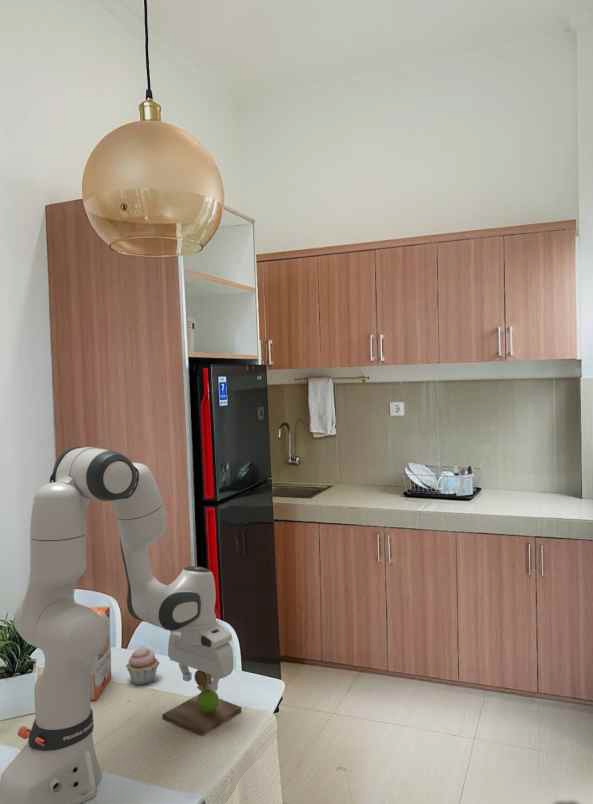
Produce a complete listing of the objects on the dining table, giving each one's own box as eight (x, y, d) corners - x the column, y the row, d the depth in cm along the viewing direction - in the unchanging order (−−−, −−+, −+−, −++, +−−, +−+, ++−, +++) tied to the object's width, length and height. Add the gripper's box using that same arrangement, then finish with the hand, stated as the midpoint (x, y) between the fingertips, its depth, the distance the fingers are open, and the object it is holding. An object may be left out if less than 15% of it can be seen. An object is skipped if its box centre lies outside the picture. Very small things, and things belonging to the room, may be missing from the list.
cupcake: (150, 669, 193) (149, 636, 192) (165, 680, 186) (164, 646, 185) (120, 679, 187) (119, 645, 187) (134, 691, 180) (133, 655, 179)
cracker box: (97, 701, 175) (94, 623, 174) (75, 701, 175) (71, 624, 174) (113, 677, 189) (110, 605, 188) (92, 677, 189) (89, 605, 188)
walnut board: (201, 736, 156) (201, 731, 156) (162, 718, 165) (162, 714, 165) (241, 711, 167) (241, 707, 167) (202, 696, 176) (202, 692, 176)
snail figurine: (213, 716, 160) (200, 666, 161) (195, 717, 163) (183, 668, 165) (228, 706, 164) (215, 658, 165) (211, 707, 168) (198, 660, 169)
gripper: (161, 625, 169) (162, 678, 169) (218, 644, 156) (220, 701, 157) (179, 618, 174) (181, 670, 174) (236, 635, 161) (238, 691, 162)
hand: (200, 685), depth 165 cm, fingers open, 8 cm apart
